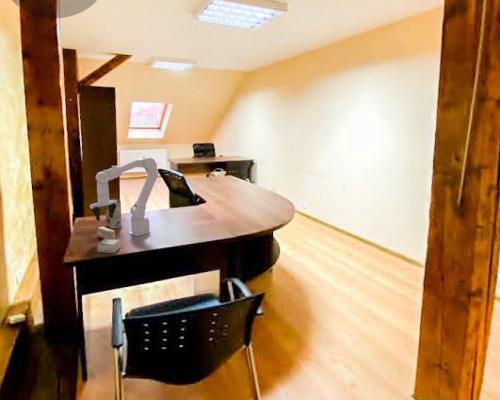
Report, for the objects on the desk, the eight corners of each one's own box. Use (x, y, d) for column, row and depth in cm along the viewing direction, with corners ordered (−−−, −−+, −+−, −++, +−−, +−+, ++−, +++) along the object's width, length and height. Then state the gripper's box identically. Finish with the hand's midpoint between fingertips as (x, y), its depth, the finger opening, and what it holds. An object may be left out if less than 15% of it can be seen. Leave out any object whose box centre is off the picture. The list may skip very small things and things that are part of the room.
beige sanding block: (103, 235, 205) (102, 226, 204) (115, 239, 198) (114, 230, 197) (98, 236, 203) (97, 227, 202) (110, 241, 196) (109, 232, 195)
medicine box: (120, 239, 186) (113, 244, 177) (120, 247, 187) (114, 253, 178) (104, 238, 186) (97, 244, 177) (105, 247, 187) (97, 252, 178)
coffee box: (106, 225, 223) (104, 199, 220) (116, 223, 228) (115, 198, 224) (111, 228, 217) (109, 202, 213) (122, 226, 221) (120, 200, 217)
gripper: (111, 191, 204) (112, 215, 207) (86, 195, 193) (88, 220, 196) (118, 193, 200) (119, 217, 203) (93, 197, 188) (95, 222, 191)
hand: (104, 219), depth 199 cm, fingers open, 7 cm apart
